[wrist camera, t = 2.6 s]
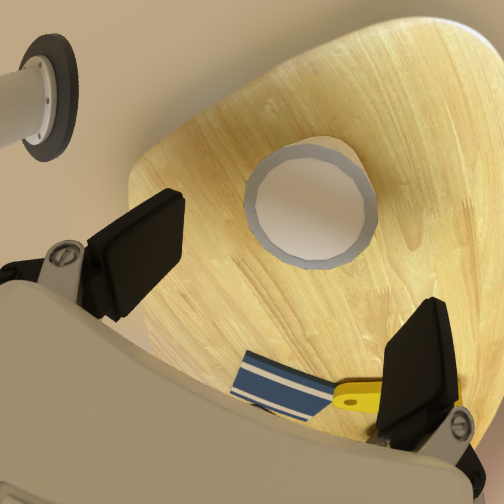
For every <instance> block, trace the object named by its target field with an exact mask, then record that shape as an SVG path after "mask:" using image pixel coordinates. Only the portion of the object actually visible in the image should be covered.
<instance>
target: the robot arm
mask: <svg viewBox="0 0 504 504" xmlns="http://www.w3.org/2000/svg"><path fill="white" fill-rule="evenodd" d="M56 108H57V85H56V77H55V73H54V69H53V67H52V64H51V63H50V61H49V59H48V58H47V57H45V56H43V55H39V56H34V57H31V58H30V59H29V60H28V61H27V62H26V63H25V65H24V66H23V68H22V70H20V71H16V72H12V73H9V74H5V75H2V76H0V149H2V148H4V147H6V146H8V145H10V144H12V143H15V142H17V141H19V140H22V139H24V138H25V139H26V140H27V141H28V142H29V143H30V144H32V145H37V144H39V143H42V142H44V141H45V140H46V139H47V138H48V136H49V134H50V132H51V130H52V127H53V124H54V120H55V116H56ZM184 213H185V198H183V195H182V193H181V192H178V191H175V190H173V189H170V188H166V189H164V190H163V191H161V192H159V193H158V194H156V195H154V196H153V197H151V198H149V199H148V200H146V201H145V202H143V203H141V204H140V205H138V206H137V207H135V208H134V209H132V210H130V211H129V212H127V213H126V214H125V215H123V216H121V217H120V218H118V219H117V220H115V221H114V222H112V223H111V224H109V225H108V226H106V227H105V228H104V229H102V230H101V231H99V232H98V233H96V234H95V235H94V236H92V237H91V238H90V239H88V240H87V243H88V246H87V247H85V248H84V247H83V245H82V244H81V243H80V242H78V241H75V240H65V241H61V242H59V243H57V244H55V245H54V246H52V247H51V248H50V249H49V250H48V252H47V254H46V256H45V258H41V259H33V260H25V261H17V262H11V263H8V264H6V265H4V266H3V267H2V268H1V269H0V504H485V499H484V493H481V492H482V490H483V488H484V485H485V481H486V474H485V471H484V468H483V466H482V464H481V462H480V460H479V459H478V457H477V455H476V453H475V452H474V450H473V448H472V446H471V444H470V442H471V440H472V438H473V435H474V429H475V427H474V420H473V417H472V415H471V413H470V412H469V411H468V410H467V408H465V407H463V406H457V407H454V403H455V402H456V401H457V400H459V390H458V378H457V368H456V359H455V351H454V345H453V338H452V332H451V327H450V322H449V317H448V312H447V307H446V304H445V302H443V301H441V300H439V299H437V298H435V297H430V298H429V299H425V300H424V301H423V302H422V303H421V305H420V306H419V307H418V308H417V310H416V311H415V312H414V313H413V314H412V316H411V317H410V318H409V319H408V320H407V322H406V323H405V324H404V325H403V326H402V327H401V328H400V330H399V331H398V332H397V333H396V334H395V335H394V336H393V337H392V338H391V340H390V341H389V342H388V343H387V345H386V347H385V352H384V365H383V377H382V386H381V395H380V402H379V410H378V416H377V422H376V428H377V429H378V435H377V437H378V438H383V439H388V440H389V439H390V443H389V445H388V446H387V447H382V446H377V445H373V444H368V443H364V442H360V441H356V440H352V439H348V438H344V437H340V436H337V435H333V434H330V433H326V432H323V431H320V430H317V429H313V428H310V427H307V426H304V425H301V424H298V423H296V422H293V421H290V420H287V419H284V418H282V417H279V416H276V415H274V414H271V413H268V412H266V411H263V410H261V409H258V408H256V407H254V406H251V405H249V404H247V403H244V402H242V401H240V400H237V399H235V398H233V397H231V396H229V395H226V394H224V393H222V392H220V391H218V390H216V389H214V388H212V387H210V386H208V385H206V384H204V383H202V382H200V381H198V380H196V379H194V378H192V377H190V376H188V375H186V374H185V373H183V372H181V371H179V370H177V369H175V368H174V367H172V366H170V365H168V364H167V363H165V362H163V361H161V360H160V359H158V358H156V357H155V356H153V355H151V354H150V353H148V352H146V351H145V350H143V349H142V348H140V347H138V346H137V345H135V344H134V343H132V342H130V341H129V340H127V339H126V338H124V337H123V336H121V335H120V334H118V333H117V332H115V331H114V330H112V329H111V328H110V327H108V326H107V325H105V324H104V323H102V318H103V317H104V316H105V315H106V316H108V317H109V318H110V319H112V320H113V321H115V322H117V321H118V320H119V319H120V318H121V317H123V318H124V317H126V316H127V315H128V314H129V313H130V312H131V311H132V310H133V309H134V308H135V307H136V306H137V305H138V304H139V302H140V301H141V300H142V299H143V298H144V297H145V296H146V295H147V294H148V293H149V292H150V291H151V290H152V289H153V288H154V287H155V286H156V285H157V284H158V283H159V282H160V281H161V280H162V279H163V278H164V277H165V276H166V275H167V274H168V272H169V271H170V270H171V269H172V268H173V267H174V266H175V265H176V264H177V263H178V262H179V261H180V259H181V256H182V241H183V226H184Z"/></svg>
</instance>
